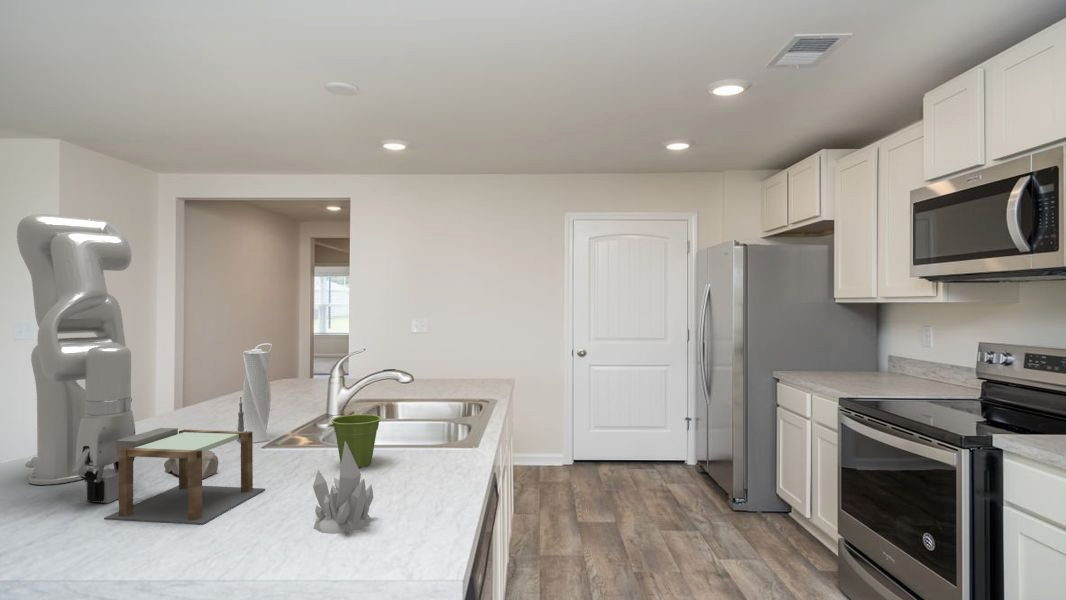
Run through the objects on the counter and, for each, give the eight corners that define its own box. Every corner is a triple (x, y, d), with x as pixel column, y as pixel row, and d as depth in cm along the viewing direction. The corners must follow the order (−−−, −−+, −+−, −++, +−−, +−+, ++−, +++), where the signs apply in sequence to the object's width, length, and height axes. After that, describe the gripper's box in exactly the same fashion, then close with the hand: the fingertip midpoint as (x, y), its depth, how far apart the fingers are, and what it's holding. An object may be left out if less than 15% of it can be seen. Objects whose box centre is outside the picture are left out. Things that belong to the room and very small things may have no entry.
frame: (118, 517, 108) (118, 449, 108) (184, 488, 125) (184, 429, 125) (196, 521, 106) (195, 452, 106) (252, 491, 123) (252, 431, 122)
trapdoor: (111, 457, 110) (111, 441, 110) (164, 440, 123) (164, 426, 123) (194, 460, 108) (194, 444, 108) (238, 443, 121) (238, 429, 121)
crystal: (339, 507, 113) (339, 430, 113) (386, 521, 106) (386, 439, 106) (294, 523, 105) (293, 440, 105) (342, 540, 98) (341, 451, 98)
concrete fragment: (192, 483, 129) (191, 456, 129) (160, 473, 136) (160, 447, 136) (223, 475, 135) (223, 448, 134) (191, 465, 142) (191, 440, 142)
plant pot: (384, 468, 139) (384, 421, 139) (332, 474, 134) (332, 425, 134) (378, 455, 150) (378, 412, 150) (330, 460, 145) (329, 415, 145)
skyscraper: (267, 436, 172) (267, 342, 172) (275, 441, 166) (275, 343, 166) (236, 441, 167) (236, 343, 167) (243, 446, 160) (243, 345, 160)
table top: (104, 519, 107) (104, 517, 107) (179, 486, 126) (179, 484, 126) (203, 524, 104) (203, 523, 104) (265, 489, 123) (265, 488, 123)
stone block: (86, 501, 116) (86, 476, 116) (107, 492, 121) (107, 468, 121) (108, 502, 115) (108, 477, 115) (129, 494, 120) (129, 470, 120)
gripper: (126, 398, 127) (126, 481, 127) (52, 415, 110) (51, 510, 110) (157, 400, 126) (157, 483, 126) (87, 416, 109) (86, 513, 109)
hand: (108, 495), depth 118 cm, fingers closed on stone block, 5 cm apart
